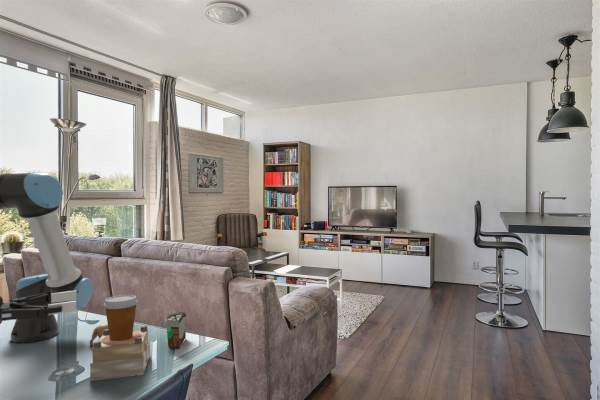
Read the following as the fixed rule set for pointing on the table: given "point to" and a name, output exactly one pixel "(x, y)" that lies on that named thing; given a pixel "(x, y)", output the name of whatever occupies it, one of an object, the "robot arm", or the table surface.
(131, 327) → the disposable coffee cup
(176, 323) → the food container
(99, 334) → the lion figurine
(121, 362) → the wooden crate
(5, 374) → the table surface
